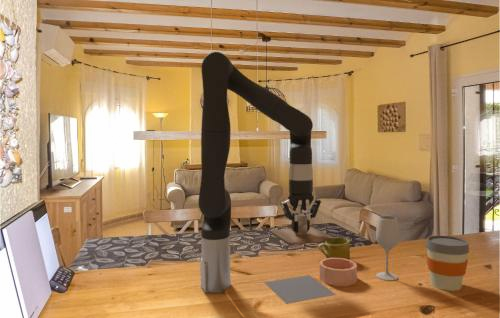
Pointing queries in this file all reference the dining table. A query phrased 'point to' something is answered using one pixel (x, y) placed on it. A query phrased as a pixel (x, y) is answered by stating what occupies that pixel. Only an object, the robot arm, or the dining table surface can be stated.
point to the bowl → (338, 271)
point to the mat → (299, 289)
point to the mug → (336, 248)
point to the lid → (301, 234)
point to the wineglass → (387, 241)
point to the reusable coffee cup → (447, 261)
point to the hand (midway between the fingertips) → (300, 231)
